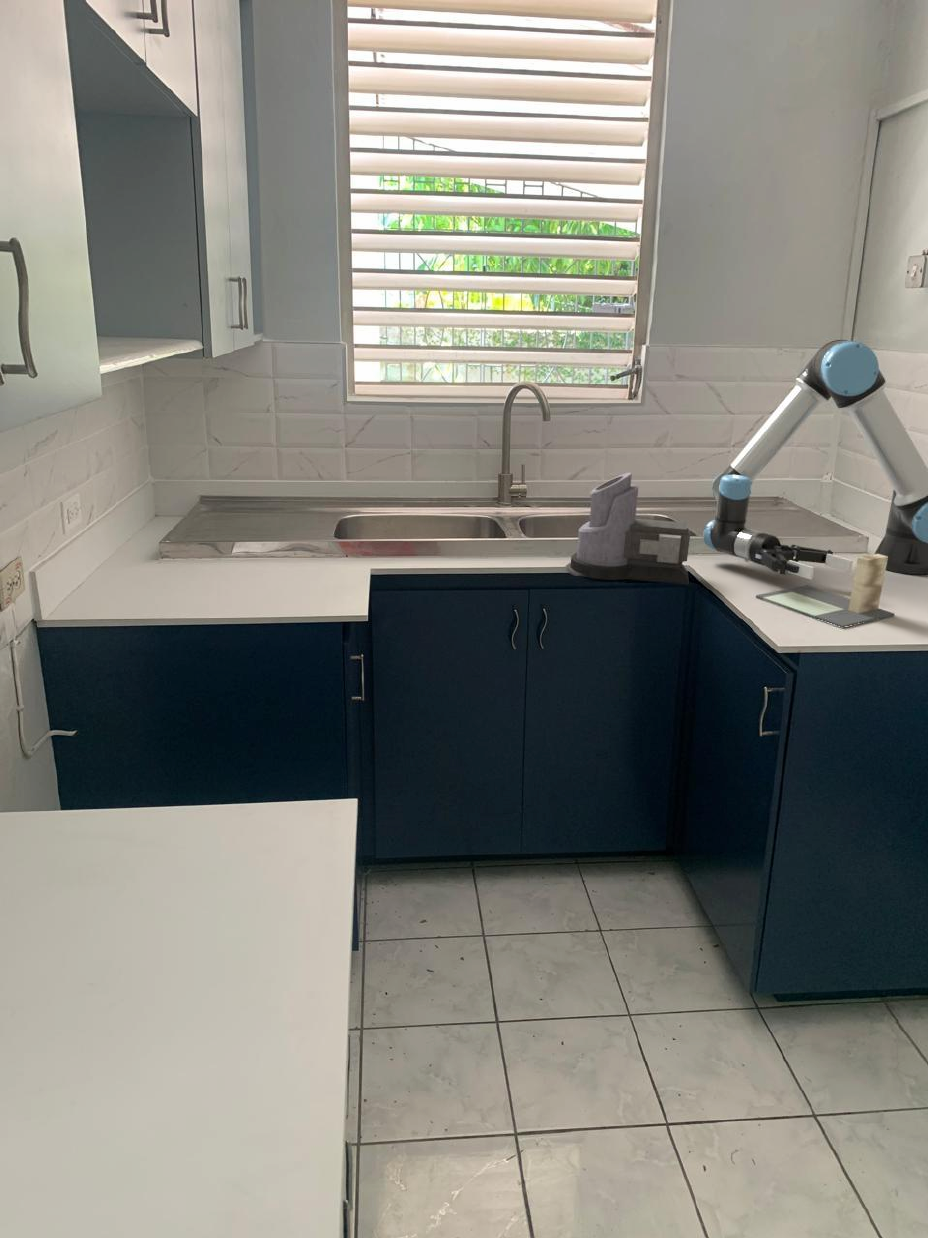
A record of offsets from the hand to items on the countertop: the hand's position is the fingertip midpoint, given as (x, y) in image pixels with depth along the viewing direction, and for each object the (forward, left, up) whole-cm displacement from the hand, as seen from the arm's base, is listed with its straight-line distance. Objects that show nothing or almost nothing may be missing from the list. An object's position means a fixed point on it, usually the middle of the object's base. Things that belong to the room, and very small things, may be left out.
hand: (832, 569), depth 211 cm
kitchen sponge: (0, +9, -1) cm, 9 cm away
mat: (+5, +3, -7) cm, 9 cm away
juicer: (+27, -37, -7) cm, 47 cm away
